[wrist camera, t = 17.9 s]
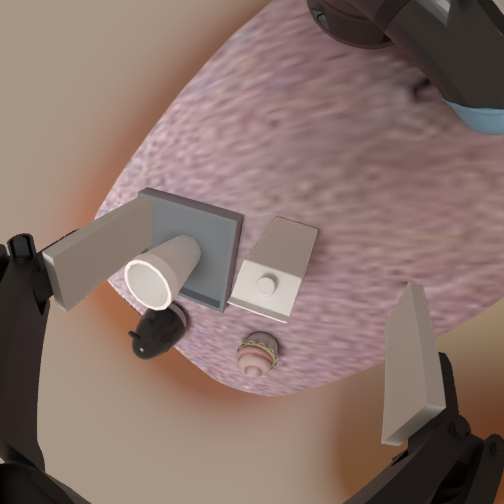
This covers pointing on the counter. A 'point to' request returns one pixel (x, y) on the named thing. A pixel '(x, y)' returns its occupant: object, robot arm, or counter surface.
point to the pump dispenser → (158, 331)
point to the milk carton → (275, 270)
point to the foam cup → (162, 271)
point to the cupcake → (257, 355)
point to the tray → (199, 243)
